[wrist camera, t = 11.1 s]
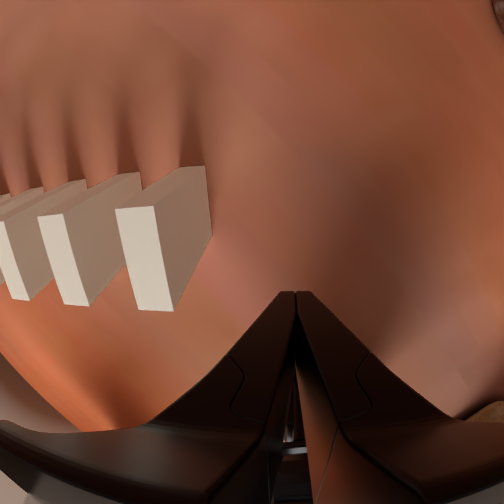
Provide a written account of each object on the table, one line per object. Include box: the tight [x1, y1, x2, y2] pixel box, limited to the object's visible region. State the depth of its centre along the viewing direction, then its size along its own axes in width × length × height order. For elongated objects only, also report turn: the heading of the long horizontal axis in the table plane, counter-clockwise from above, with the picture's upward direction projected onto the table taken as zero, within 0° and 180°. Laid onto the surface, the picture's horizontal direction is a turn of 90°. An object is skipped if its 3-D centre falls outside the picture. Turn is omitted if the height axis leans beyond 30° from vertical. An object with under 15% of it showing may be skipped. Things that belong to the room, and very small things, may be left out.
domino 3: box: [0, 179, 87, 301], centre depth 16 cm, size 2×4×8 cm, turn 3°
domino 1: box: [115, 165, 212, 311], centre depth 15 cm, size 2×4×8 cm, turn 4°
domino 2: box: [37, 172, 142, 306], centre depth 16 cm, size 2×4×8 cm, turn 4°
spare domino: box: [0, 187, 44, 285], centre depth 17 cm, size 2×4×8 cm, turn 3°
